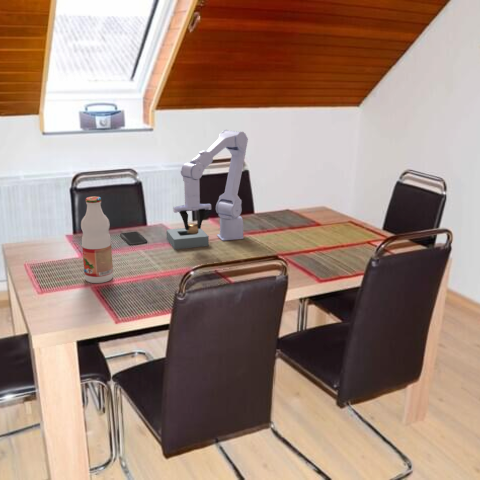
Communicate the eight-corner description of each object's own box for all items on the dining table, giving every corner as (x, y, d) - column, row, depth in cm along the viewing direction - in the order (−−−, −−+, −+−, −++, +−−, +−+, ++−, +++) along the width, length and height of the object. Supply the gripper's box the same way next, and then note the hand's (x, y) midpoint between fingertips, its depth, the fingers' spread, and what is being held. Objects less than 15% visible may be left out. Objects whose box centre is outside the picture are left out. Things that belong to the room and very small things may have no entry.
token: (196, 230, 219) (196, 222, 218) (199, 233, 215) (199, 225, 214) (185, 231, 217) (185, 223, 216) (188, 234, 213) (188, 227, 212)
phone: (129, 243, 221) (119, 233, 234) (129, 246, 222) (119, 235, 234) (148, 241, 225) (137, 231, 237) (148, 243, 225) (137, 233, 238)
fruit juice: (111, 283, 184) (106, 201, 175) (82, 284, 183) (75, 201, 174) (114, 273, 193) (109, 194, 184) (87, 273, 192) (80, 194, 183)
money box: (199, 235, 235) (199, 226, 233) (208, 245, 222) (208, 236, 221) (166, 238, 230) (166, 229, 229) (174, 249, 218) (174, 239, 216)
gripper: (176, 198, 205) (177, 233, 210) (213, 195, 210) (213, 229, 214) (171, 194, 212) (172, 228, 216) (208, 191, 216) (208, 224, 221)
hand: (192, 228), depth 215 cm, fingers closed on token, 4 cm apart
